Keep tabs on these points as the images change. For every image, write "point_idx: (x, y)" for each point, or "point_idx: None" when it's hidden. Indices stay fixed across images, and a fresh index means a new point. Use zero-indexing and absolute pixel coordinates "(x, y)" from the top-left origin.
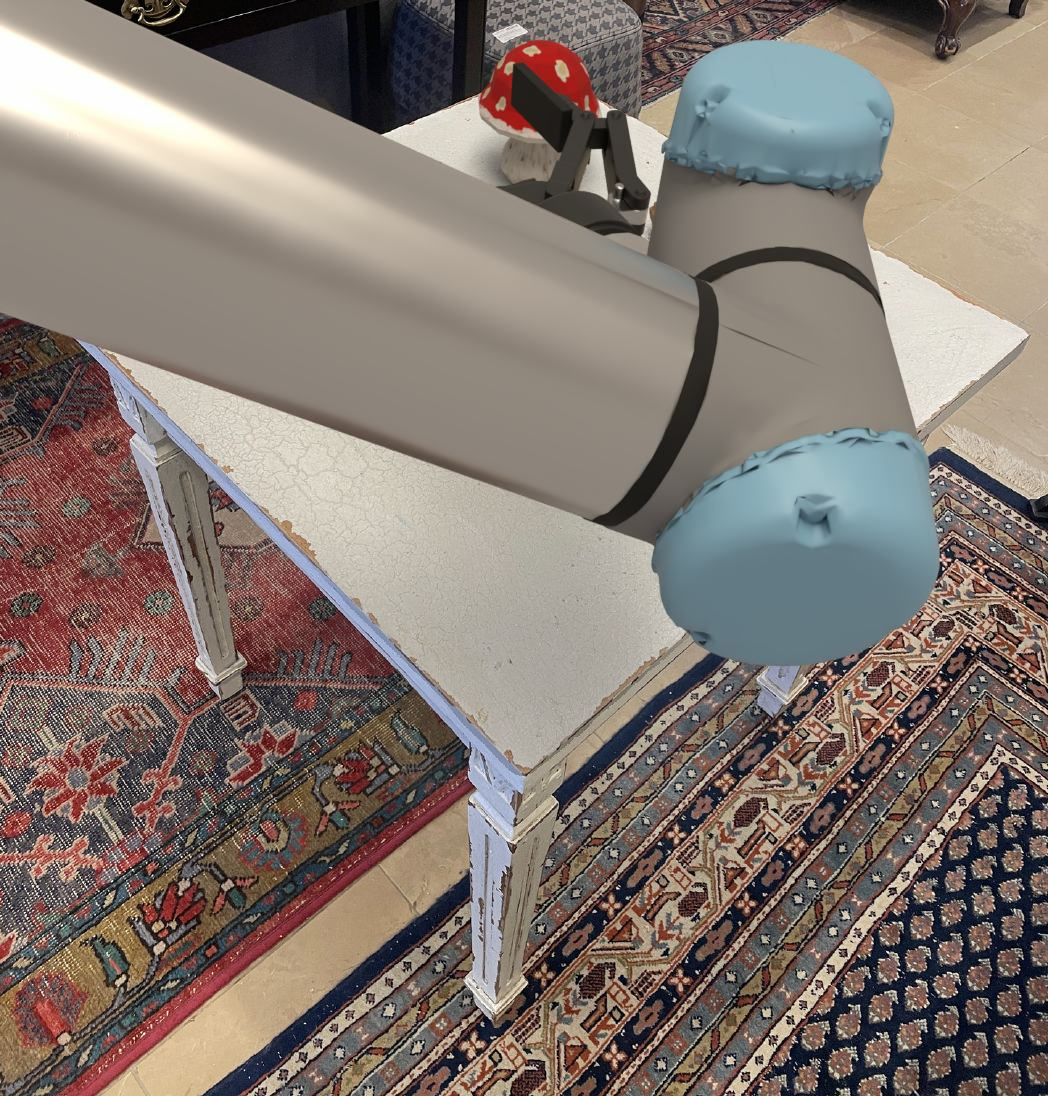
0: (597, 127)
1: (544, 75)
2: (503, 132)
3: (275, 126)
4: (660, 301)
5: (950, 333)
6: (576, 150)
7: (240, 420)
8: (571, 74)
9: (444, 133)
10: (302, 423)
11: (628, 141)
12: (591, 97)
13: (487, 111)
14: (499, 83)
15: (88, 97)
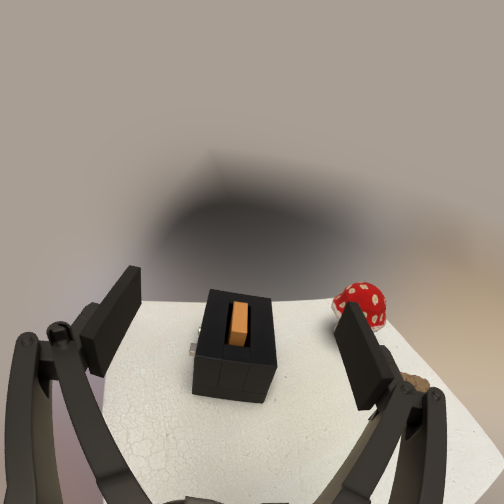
0: (413, 406)
1: (366, 299)
2: (338, 317)
3: None
4: None
5: (489, 461)
6: (380, 457)
7: (127, 404)
8: (378, 302)
9: (316, 305)
10: (151, 424)
11: (444, 446)
12: (384, 314)
13: (335, 305)
14: (344, 295)
15: None
